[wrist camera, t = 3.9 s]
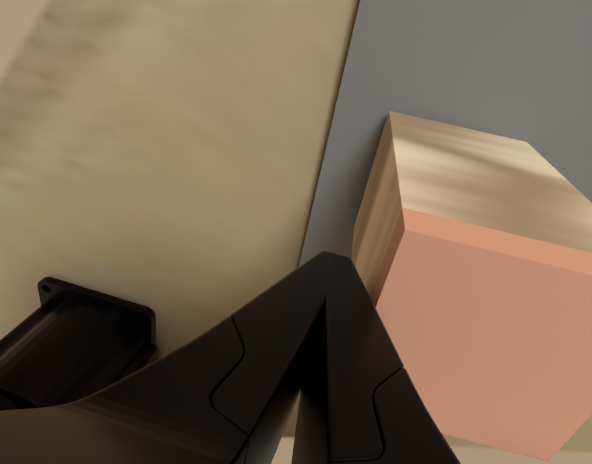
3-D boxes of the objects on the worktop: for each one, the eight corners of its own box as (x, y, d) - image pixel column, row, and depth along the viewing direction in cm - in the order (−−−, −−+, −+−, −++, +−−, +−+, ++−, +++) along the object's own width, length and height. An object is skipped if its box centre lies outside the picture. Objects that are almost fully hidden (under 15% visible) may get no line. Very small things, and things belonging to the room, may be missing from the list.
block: (354, 227, 16) (338, 406, 9) (389, 110, 13) (404, 229, 6) (470, 255, 15) (548, 462, 9) (527, 142, 13) (693, 299, 6)
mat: (294, 287, 19) (291, 294, 18) (373, -54, 12) (372, -56, 12) (637, 388, 17) (643, 398, 17) (947, 62, 10) (969, 64, 10)
